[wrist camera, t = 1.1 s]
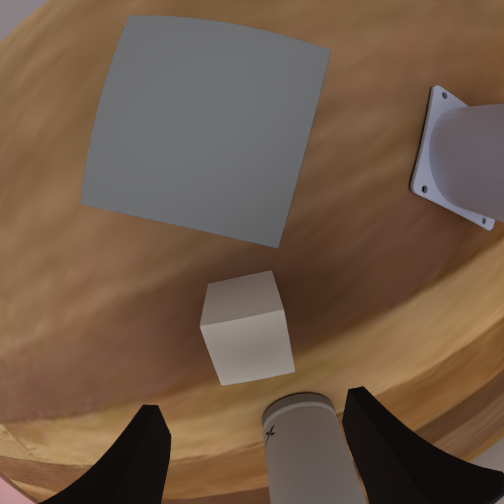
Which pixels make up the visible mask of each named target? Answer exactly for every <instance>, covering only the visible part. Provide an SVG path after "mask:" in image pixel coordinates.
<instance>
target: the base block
mask: <svg viewBox="0 0 504 504" xmlns="http://www.w3.org/2000/svg"><path fill="white" fill-rule="evenodd" d="M330 51H331V50H329V49H326V48H323V47H320V46H317V45H314V44H311V43H308V42H305V41H302V40H298V39H295V38H291V37H288V36H284V35H281V34H277V33H273V32H269V31H265V30H260V29H256V28H251V27H246V26H241V25H236V24H231V23H225V22H218V21H211V20H204V19H195V18H185V17H173V16H154V15H129V18H128V20H127V22H126V25H125V27H124V30H123V32H122V35H121V37H120V40H119V42H118V45H117V48H116V50H115V53H114V56H113V59H112V62H111V65H110V68H109V71H108V74H107V77H106V81H105V84H104V87H103V91H102V94H101V98H100V102H99V105H98V109H97V113H96V117H95V121H94V126H93V130H92V135H91V140H90V145H89V150H88V155H87V161H86V167H85V173H84V180H83V187H82V195H81V204H82V205H86V206H91V207H96V208H100V209H105V210H109V211H114V212H119V213H123V214H128V215H132V216H137V217H141V218H146V219H150V220H155V221H159V222H164V223H168V224H173V225H177V226H182V227H186V228H191V229H195V230H199V231H204V232H208V233H213V234H217V235H221V236H226V237H230V238H234V239H239V240H243V241H248V242H252V243H256V244H261V245H265V246H269V247H273V248H278V247H279V244H280V240H281V237H282V233H283V230H284V226H285V223H286V219H287V216H288V212H289V208H290V205H291V201H292V198H293V194H294V190H295V187H296V183H297V180H298V176H299V172H300V169H301V165H302V161H303V157H304V154H305V150H306V146H307V142H308V139H309V135H310V131H311V127H312V123H313V119H314V115H315V112H316V108H317V104H318V100H319V96H320V92H321V88H322V84H323V80H324V76H325V72H326V68H327V63H328V59H329V55H330Z"/></svg>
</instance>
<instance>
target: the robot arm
mask: <svg viewBox="0 0 504 504" xmlns="http://www.w3.org/2000/svg"><path fill="white" fill-rule="evenodd" d="M442 94H443V95H444V98H443V96H442ZM423 186H424V191H423V192H422V187H423ZM410 187H411V191H412V192H413V193H415V194H417V195H419V196H421V197H423V198H426V199H428V200H430V201H432V202H434V203H436V204H438V205H440V206H442V207H444V208H446V209H448V210H450V211H452V212H454V213H456V214H458V215H460V216H462V217H464V218H466V219H468V220H470V221H472V222H474V223H475V224H477V225H479V226H481V227H483V228H485V229H486V230H491V229H492V228H493V225H494V222H495V220H497V221H500V222H502V223H504V104H491V105H480V106H470V107H469V106H468V105H466V104H465V103H464V102H462V101H461V100H459V99H458V98H457V97H455V96H454V95H452V94H451V93H449V92H448V91H447V90H445V89H444V88H442V87H441V86H438V85H436V86H433V87H432V89H431V95H430V101H429V106H428V112H427V117H426V122H425V127H424V132H423V136H422V141H421V145H420V150H419V154H418V158H417V162H416V166H415V170H414V173H413V177H412V181H411V185H410ZM482 220H483V221H482ZM342 424H343V428H344V432H345V436H346V440H347V443H348V446H349V448H350V451H351V453H352V456H353V459H354V461H355V463H356V466H357V468H358V471H359V473H360V476H361V478H362V481H363V483H364V486H365V489H366V492H367V496H368V500H369V504H495V503H496V502H497V501H498V500H499V499H501V498H502V497H503V496H504V473H503V472H501V471H497V470H492V469H488V468H483V467H480V466H477V465H474V464H471V463H468V462H466V461H463V460H461V459H459V458H457V457H454V456H452V455H450V454H448V453H446V452H444V451H442V450H440V449H438V448H437V447H435V446H433V445H432V444H430V443H429V442H427V441H426V440H424V439H423V438H421V437H420V436H418V435H417V434H416V433H414V432H413V431H412V430H410V429H409V428H408V427H407V426H405V425H404V424H403V423H402V422H401V421H399V420H398V419H397V418H396V417H395V416H394V415H393V414H391V413H390V412H389V411H388V410H387V409H386V408H385V407H384V406H383V405H382V404H381V403H380V402H379V401H378V400H377V399H376V398H375V397H374V396H373V395H372V394H371V393H370V392H369V391H368V390H367V389H366V388H365V387H363V386H362V387H357V388H353V389H348V393H347V399H346V404H345V409H344V414H343V419H342ZM170 450H171V434H170V432H169V429H168V427H167V425H166V423H165V420H164V418H163V416H162V413H161V411H160V409H159V406H158V405H143V406H142V407H141V408H140V409H139V411H138V412H137V414H136V415H135V416H134V418H133V419H132V420H131V422H130V423H129V424H128V426H127V427H126V428H125V430H124V431H123V432H122V434H121V435H120V436H119V437H118V439H117V440H116V441H115V442H114V444H113V445H112V446H111V447H110V448H109V449H108V451H107V452H106V453H105V454H104V455H103V456H102V457H101V458H100V459H99V460H98V461H97V462H96V463H95V464H94V465H93V466H92V467H91V468H90V469H89V470H88V471H87V472H86V473H85V474H84V475H82V476H81V477H80V478H79V479H77V480H76V481H75V482H74V483H72V484H71V485H70V486H68V487H67V488H65V489H64V490H62V491H61V492H59V493H57V494H56V495H54V496H52V497H51V498H49V499H47V500H45V501H43V502H41V503H39V504H161V500H162V495H163V490H164V485H165V480H166V475H167V470H168V465H169V460H170Z"/></svg>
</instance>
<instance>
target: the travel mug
mask: <svg viewBox="0 0 504 504" xmlns="http://www.w3.org/2000/svg"><path fill="white" fill-rule="evenodd" d="M262 424H263V433H264V443H265V453H266V463H267V472H268V482H269V491H270V500H271V504H366V501H365V498H364V495H363V492H362V489H361V486H360V483H359V480H358V477H357V474H356V471H355V468H354V465H353V462H352V459H351V456H350V453H349V450H348V447H347V444H346V442H345V439H344V436H343V433H342V430H341V427H340V424H339V422H338V419H337V416H336V413H335V410H334V408H333V405H332V403H331V402H330V401H329V400H328V399H327V398H325V397H323V396H321V395H317V394H309V393H304V394H296V395H292V396H288V397H286V398H283V399H281V400H279V401H277V402H275V403H274V404H273V405H271V406H270V407H269V408H268V409H267V410H266V412H265V413H264V415H263V418H262Z"/></svg>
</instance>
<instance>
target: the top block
mask: <svg viewBox="0 0 504 504" xmlns="http://www.w3.org/2000/svg"><path fill="white" fill-rule="evenodd" d="M200 329H201V332H202V335H203V337H204V340H205V343H206V346H207V348H208V351H209V354H210V356H211V359H212V362H213V364H214V367H215V370H216V372H217V375H218V377H219V380H220V383H221V385H222V386H223V385H229V384H236V383H242V382H248V381H253V380H259V379H264V378H269V377H274V376H279V375H283V374H288V373H292V372H295V368H294V363H293V357H292V351H291V346H290V340H289V335H288V330H287V324H286V319H285V313H284V309H283V305H282V302H281V299H280V295H279V292H278V289H277V286H276V282H275V279H274V276H273V273H272V270H270V271H265V272H260V273H256V274H251V275H246V276H242V277H237V278H232V279H227V280H223V281H218V282H213V283H208V287H207V292H206V297H205V302H204V307H203V312H202V317H201V322H200Z"/></svg>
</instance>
